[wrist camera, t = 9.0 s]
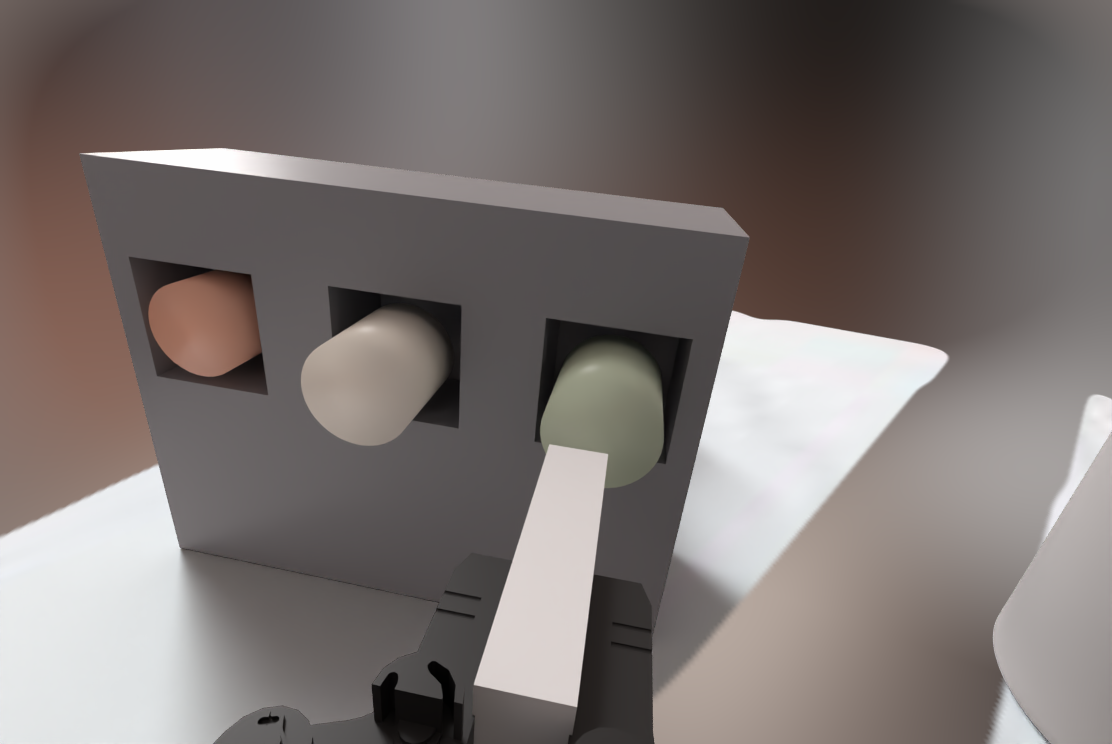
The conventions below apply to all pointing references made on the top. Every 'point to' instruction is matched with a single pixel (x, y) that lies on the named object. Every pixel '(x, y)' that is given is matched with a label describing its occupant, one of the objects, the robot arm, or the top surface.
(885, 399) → the top surface
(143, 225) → the console
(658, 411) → the sage button
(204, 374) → the terracotta button
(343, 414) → the cream button
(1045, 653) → the cylinder vase
